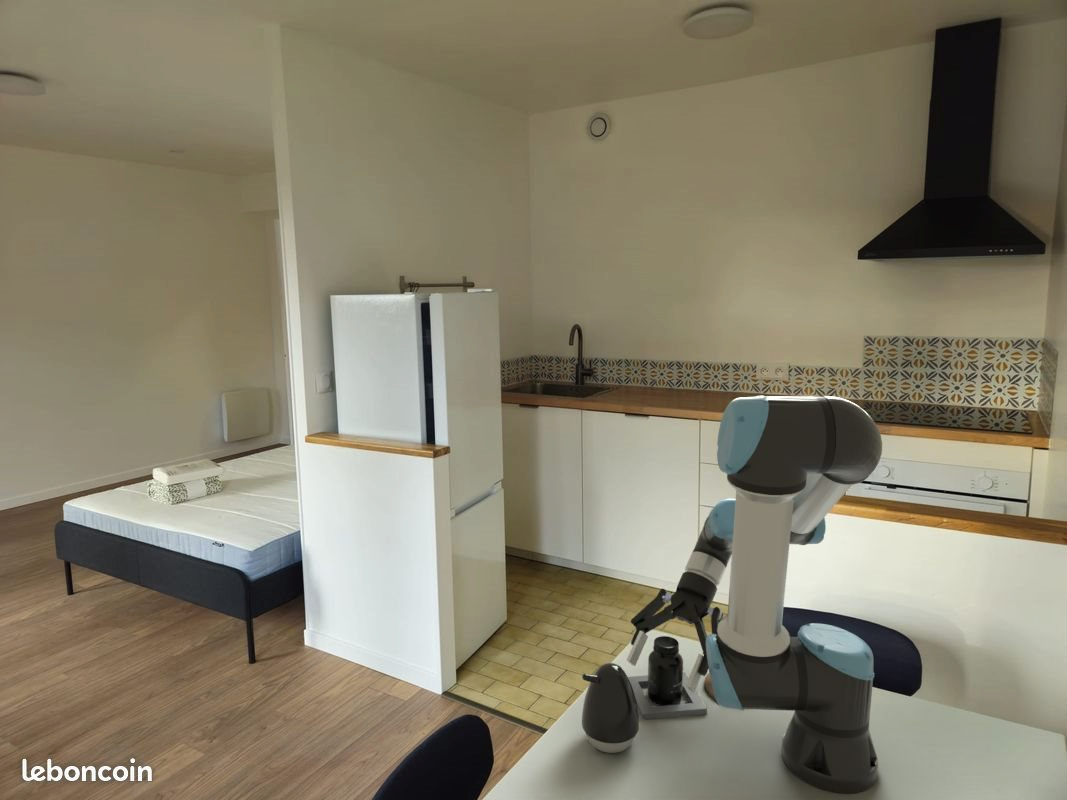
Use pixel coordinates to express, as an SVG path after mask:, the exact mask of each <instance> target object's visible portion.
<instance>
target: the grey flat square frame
mask: <svg viewBox="0 0 1067 800" xmlns="http://www.w3.org/2000/svg"><path fill="white" fill-rule="evenodd" d="M627 677H628V679H629V681H630V683H631V686H632V688H633V691H634V694H635V698H636V702H637V708H638V714H639V715H640V718H641V719H642V721H644V720H646V721H647V720H653V719H654V720H655V719H656V720H657V719H666V718H669V719H670V718H677V717H690V716H702V715H704V716H705V715H708V708H707V706H706V704H705V703H704V701H703V700H702V698H701V696H700V695H699V693H698V691H697V690H696V689H695V692H692V691H690V690H689V689H688V688H687V687H686V684H687V682H688V679H689V676H688V675H687V673H686V672H684V671H683V686H682V693H683V694H684V696H685V697H686V699H687V700H688V702H689V703H681V704H680V703H679V704H677V705H666V706H659V705H656V706H651V705H650V704H649V702H648V700H647V697H646V695H645V694H644V691H643V689H642V687H643V688H644V687H648V674H647V675H646V674H645V675H635V676H627Z"/></svg>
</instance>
